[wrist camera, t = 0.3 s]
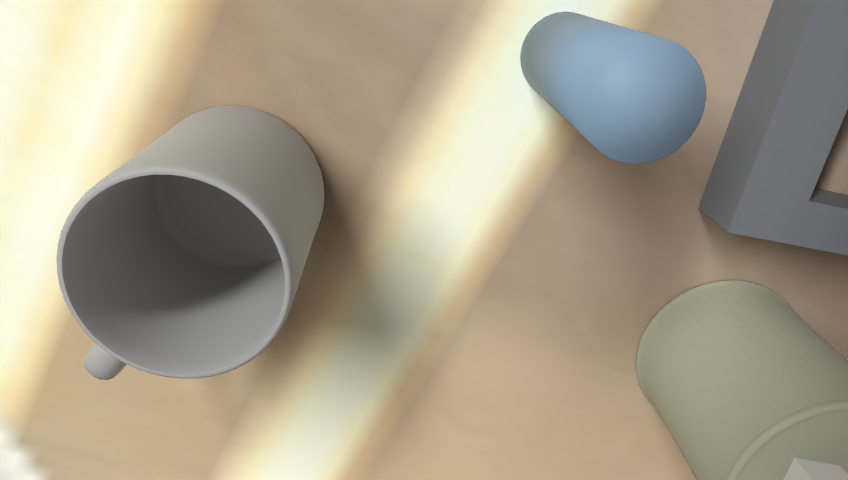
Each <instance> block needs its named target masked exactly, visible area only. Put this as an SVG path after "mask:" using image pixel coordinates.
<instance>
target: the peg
mask: <svg viewBox="0 0 848 480" xmlns="http://www.w3.org/2000/svg"><path fill="white" fill-rule="evenodd" d="M520 60H521V68H522V71H523V74H524V76H525V78H526V80H527V82H528V83H529V84H530V86H531V87H532V88H533V89H534V90H535V91H536V92H537V93H538V94H540V95H541V96H542V97H543V98H544V99H545V100H546V101H547V102H548V103H549V104H550V105H551V106H552V107H553V108H554V109H555V110H556V111H557V112H558V113H560V114H561V115H562V116H563V117H564V118H565V119H566V120H567V121H568V122H569V123H570V124H571V125H572V126H573V127H574V128H575V129H576V130H577V131H578V132H579V133H581V134H582V135H583V136H584V137H585V138H586V139H587V140H588V141H589V142H590V143H591V144H592V145H593V146H594V147H595V148H596V149H597V150H599V151H600V152H601V153H602V154H604V155H605V156H607V157H609V158H611V159H613V160H616V161H619V162H623V163H629V164H642V163H649V162H653V161H656V160H659V159H661V158H664V157H666V156H668V155H669V154H671V153H673V152H674V151H676V150H677V149H678V148H679V147H681V146H682V145H683V144H684V143H685V142H686V141H687V140H688V139H689V138H690V136H691V135H692V133H693V132H694V131H695V129H696V127H697V126H698V124H699V122H700V119H701V117H702V114H703V111H704V107H705V101H706V85H705V80H704V76H703V73H702V70H701V68H700V66H699V64H698V63H697V61H696V59H695V58H694V57H693V56H692V55H691V53H689V52H688V51H687V50H686V49H685V48H684V47H682V46H680V45H679V44H677V43H675V42H673V41H670V40H667V39H664V38H660V37H657V36H653V35H650V34H646V33H643V32H639V31H636V30H632V29H629V28H625V27H622V26H618V25H615V24H611V23H608V22H604V21H601V20H598V19H594V18H591V17H587V16H584V15H580V14H577V13H572V12H559V13H554V14H551V15H549V16H546V17H545V18H543V19H541V20H540V21H539V22H537V23H536V24H535V25H534V26H533V27H532V28H531V30H530V31H529V32H528V34H527V36H526V38H525V40H524V42H523V45H522V49H521V57H520Z"/></svg>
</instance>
